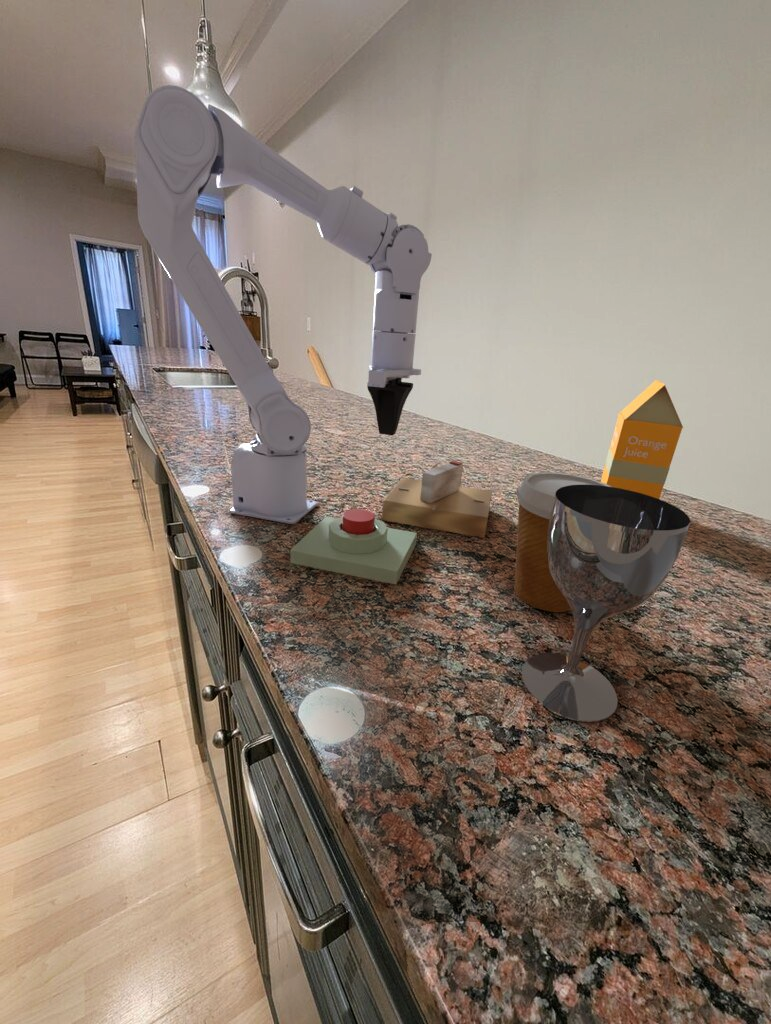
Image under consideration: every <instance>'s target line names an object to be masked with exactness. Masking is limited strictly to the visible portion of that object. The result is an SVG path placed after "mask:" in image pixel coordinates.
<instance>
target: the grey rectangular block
mask: <svg viewBox="0 0 771 1024" xmlns="http://www.w3.org/2000/svg"><path fill="white" fill-rule="evenodd" d="M463 469H464V464H463V462H460V461H456V460H451V461H449V463H446V464H442V465H440V466H436V467H434V468H432V469H429V470H428V469H427V470H426V471H423V472H422V475H421V476H422V477H421V481H422V485H421V495H420V500H422V501H425V502H428V503H433V502H435V501H437V500H439V499H441V498H444V497H446V496H448V495H450V494H452V493H455V492H457V491H459V490H460V486H461V485H462V477H463Z"/></svg>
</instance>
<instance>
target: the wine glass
mask: <svg viewBox="0 0 771 1024" xmlns="http://www.w3.org/2000/svg"><path fill="white" fill-rule="evenodd" d="M690 525H691V519H690V517H689V515H688V514H687V513H686V512H684V511H683V510H682V509H680V508H679V507H677V506H675V505H673V504H671V503H669V502H667V501H664V500H662V499H660V498H659V499H657V498H654V497H651V496H648V495H645V494H642V493H638V492H634V491H630V490H625V489H620V488H615V487H608V486H600V485H570V486H565V487H561V488H560V489H558V490H557V491H556V493H555V496H554V500H553V504H552V508H551V514H550V519H549V525H548V538H547V561H548V567H549V571H550V574H551V576H552V578H553V581H554V582H555V584H556V586H557V587H558V589H559V590H560V592H561V593H562V595H563V596H564V598H565V599H566V601H567V602H568V604H569V606H570V608H571V610H570V611H571V612H572V613H571V614H572V616H573V621H574V625H573V626H574V627H573V628H574V629H573V637H572V643H571V649H570V654H569V655H567V654H562V653H557V652H542V653H539V654H536V655H533V656H531V657H530V658H528V659H527V660H526V661H524V663H523V665H522V669H521V678H522V681H523V682H524V685H525V688H526V689H527V690H528V692H529V693H530V694H531V695H532V696H533V697H534V698H535V699H536V700H537V701H538V702H539V703H541V704H542V707H543V708H544V709H546V710H548V711H550V712H551V713H553V714H555V715H558V716H560V717H562V718H565V719H568V720H572V721H577V722H580V723H581V722H583V723H596V722H602V721H605V720H607V719H609V718H610V717H612V716H613V715H614V714H615V713H616V711H617V708H618V704H619V699H618V695H617V692H616V690H615V688H614V687H613V685H612V683H611V682H610V681H609V680H608V679H607V677H606V676H605V675H603V674H602V673H601V672H600V671H599V670H598V669H596V667H593V666H592V665H590V664H588V663H587V662H585V661H583V660H581V659H582V657H583V653H584V651H585V649H586V646H587V644H588V642H589V640H590V639H591V636H592V634H593V632H594V631H595V629H596V628H597V627H598V626H599V625H600V624H601V623H603V622H605V621H606V620H608V619H610V618H612V617H614V616H618V615H620V614H622V613H625V612H628V611H630V610H633V609H636V608H637V607H639V606H641V605H642V604H644V603H646V602H647V601H648V600H650V599H651V598H652V597H653V595H655V594H656V592H657V591H658V590H659V588H660V587H661V586H662V585H663V583H664V581H665V580H666V579H667V577H668V576H669V573H670V572H671V570H672V568H673V567H674V565H675V563H676V561H677V559H678V556H679V554H680V552H681V550H682V547H683V544H684V542H685V539H686V537H687V535H688V531H689V528H690Z"/></svg>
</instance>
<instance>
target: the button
mask: <svg viewBox="0 0 771 1024" xmlns="http://www.w3.org/2000/svg"><path fill="white" fill-rule="evenodd" d="M342 517H343V522H342V530H343V531H344V532H346V533H350V534H355V535H365V534H369V533H372V532H373V531H374V521H375V518H376V516H375V514H374V513H373V512H372V511H369V510H367V509H360V508H353V509H348V510H345V511H344V512H343V513H342Z"/></svg>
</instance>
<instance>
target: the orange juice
mask: <svg viewBox="0 0 771 1024" xmlns="http://www.w3.org/2000/svg"><path fill="white" fill-rule="evenodd" d="M683 428H684V426H683V424H682V422H681V419H680V418H679V415H678V412H677V410H676V407H675V405H674V403H673V400H672V398H671V396H670V394H669V391H668V389H667V386H666V384H665V383H663V382H662V381H660V380H658V379H655V380H654V381H653V382H651V384H649V386H647V387H646V388H645V389H644V390H643V391H642V392H640V394H639V395H637V396H636V397H635V398H634V399H633V400H632V401H631V402H630V403H629V404H627V405H626V406H625V407H624V408H623V409H622V410H620V411H619V412H618V416H617V419H616V422H615V427H614V430H613V434H612V439H611V441H610V446H609V448H608V452H607V454H606V455H607V456H606V459H605V464H604V468H603V470H602V471H603V472H602V476H601V480H600V482H602V483H605V484H607V485H609V486H611V487H615V488H620V489H625V490H630V491H634V492H638V493H642V494H645V495H648V496H651V497H654V498H657V499H660V498H661V496H662V492H663V489H664V486H665V484H666V481H667V478H668V475H669V472H670V468H671V464H672V462H673V458H674V455H675V452H676V449H677V445H678V442H679V439H680V436H681V434H682V430H683Z"/></svg>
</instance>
